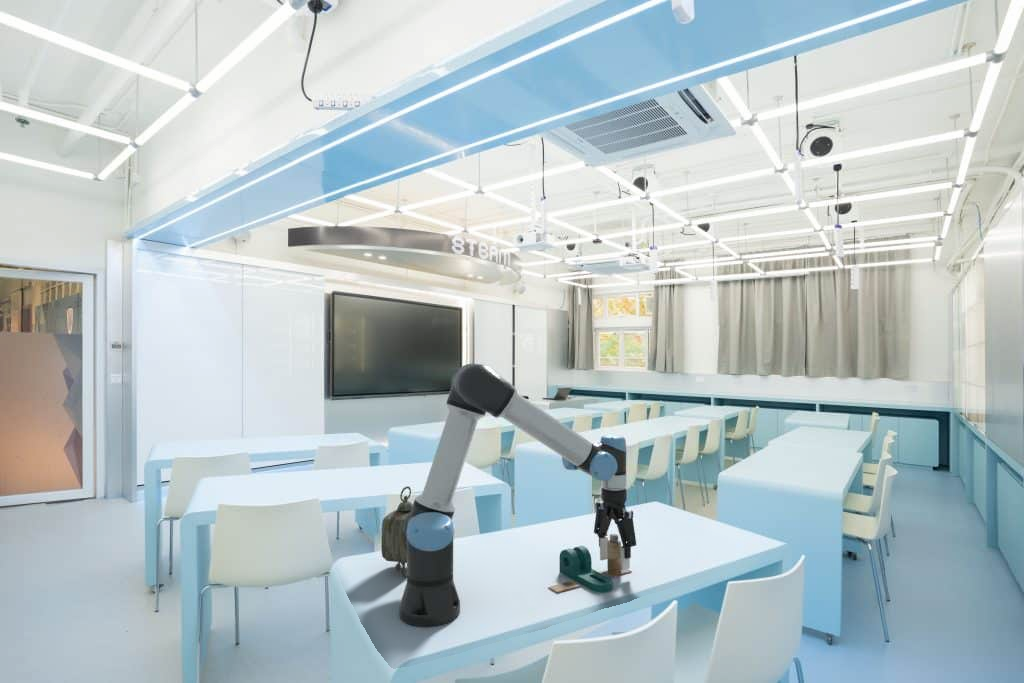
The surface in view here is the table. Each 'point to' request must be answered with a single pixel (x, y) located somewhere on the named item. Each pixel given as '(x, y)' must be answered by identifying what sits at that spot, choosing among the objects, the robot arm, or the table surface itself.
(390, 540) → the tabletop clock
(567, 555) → the bracket
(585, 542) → the table surface
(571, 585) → the wooden slat
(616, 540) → the tan cylinder gray tip
